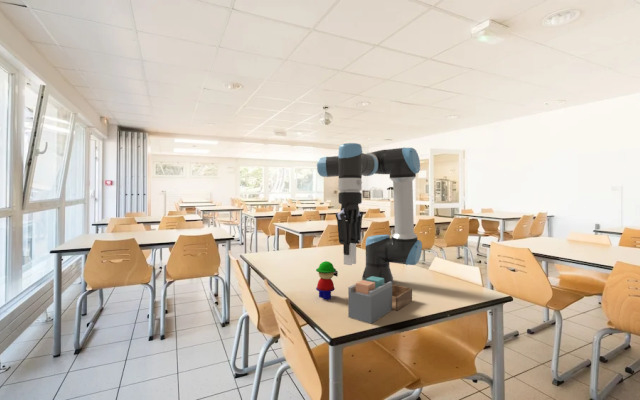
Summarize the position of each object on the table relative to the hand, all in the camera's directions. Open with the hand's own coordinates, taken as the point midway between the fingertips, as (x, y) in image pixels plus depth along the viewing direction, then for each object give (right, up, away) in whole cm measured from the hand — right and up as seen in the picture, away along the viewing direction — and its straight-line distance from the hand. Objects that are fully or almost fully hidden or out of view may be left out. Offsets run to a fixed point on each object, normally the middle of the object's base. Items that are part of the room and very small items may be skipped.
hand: (349, 263), depth 99 cm
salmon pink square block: (+6, -11, +8) cm, 15 cm away
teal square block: (+11, -11, +13) cm, 21 cm away
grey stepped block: (+9, -20, +11) cm, 25 cm away
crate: (+18, -20, +23) cm, 35 cm away
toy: (-7, -20, +29) cm, 36 cm away
